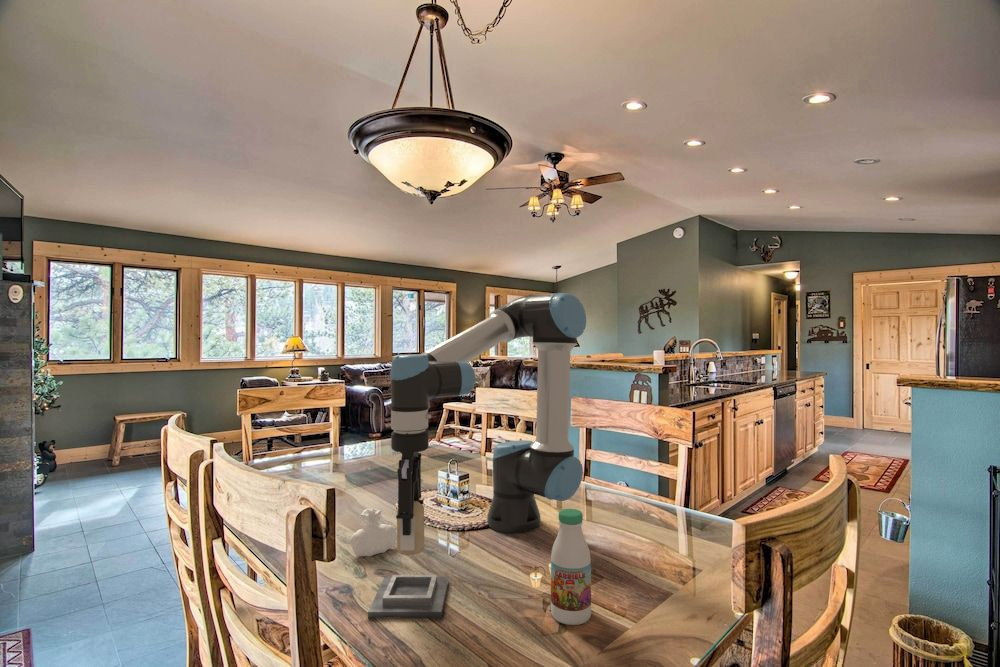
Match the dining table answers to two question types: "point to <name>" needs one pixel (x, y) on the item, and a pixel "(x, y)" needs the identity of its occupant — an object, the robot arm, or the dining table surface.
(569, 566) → the milk bottle
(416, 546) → the candle
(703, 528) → the dining table surface
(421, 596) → the plate
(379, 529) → the white animal figurine
